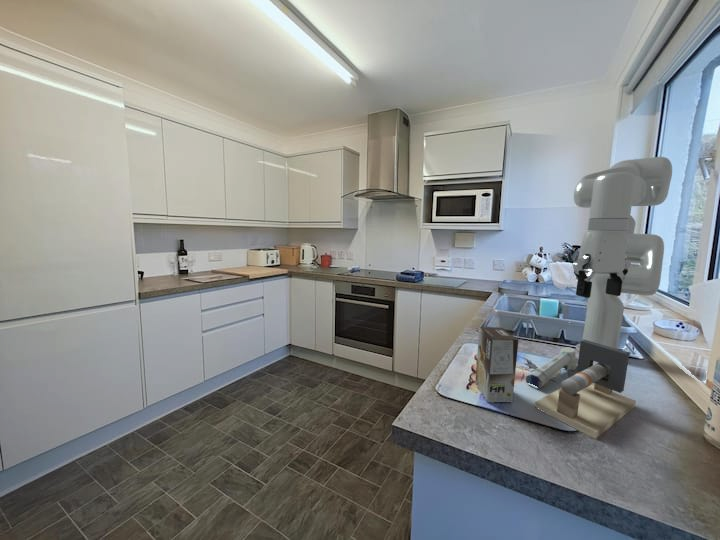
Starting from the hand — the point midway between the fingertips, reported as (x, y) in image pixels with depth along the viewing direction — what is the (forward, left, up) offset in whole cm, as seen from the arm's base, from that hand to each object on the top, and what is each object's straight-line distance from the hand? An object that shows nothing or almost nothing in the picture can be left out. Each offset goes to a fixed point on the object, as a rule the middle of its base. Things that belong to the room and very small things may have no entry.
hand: (597, 295), depth 74 cm
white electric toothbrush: (-2, -9, -26) cm, 28 cm away
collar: (+2, +3, -21) cm, 22 cm away
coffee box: (+22, -12, -26) cm, 36 cm away
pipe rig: (+8, +3, -26) cm, 27 cm away
